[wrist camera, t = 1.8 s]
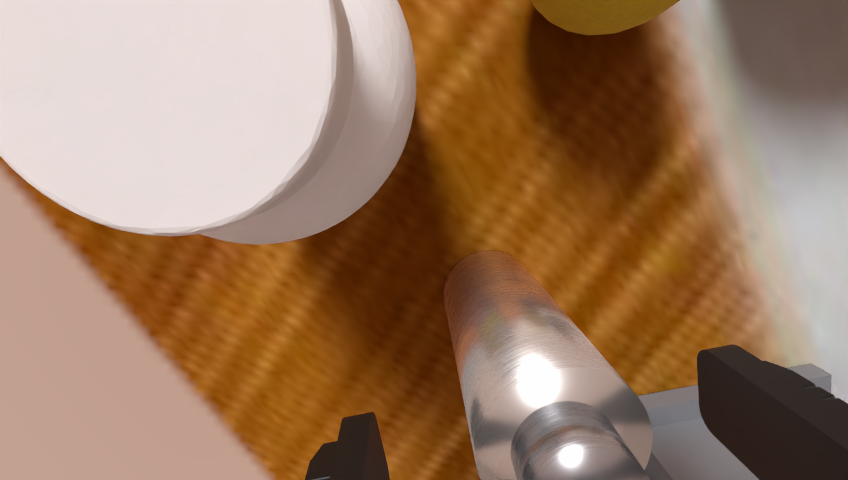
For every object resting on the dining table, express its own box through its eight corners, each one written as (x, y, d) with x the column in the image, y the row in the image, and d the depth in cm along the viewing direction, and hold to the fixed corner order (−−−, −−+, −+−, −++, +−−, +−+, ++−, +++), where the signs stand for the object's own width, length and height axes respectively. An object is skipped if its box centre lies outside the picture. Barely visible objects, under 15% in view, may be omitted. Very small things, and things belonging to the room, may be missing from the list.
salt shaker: (526, 242, 19) (688, 391, 8) (538, 326, 20) (699, 566, 9) (436, 259, 19) (469, 432, 8) (452, 342, 20) (502, 601, 9)
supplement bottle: (226, 157, 18) (-197, 206, 5) (272, -10, 17) (-149, -454, 4) (381, 214, 19) (321, 372, 6) (438, 58, 17) (507, -145, 5)
